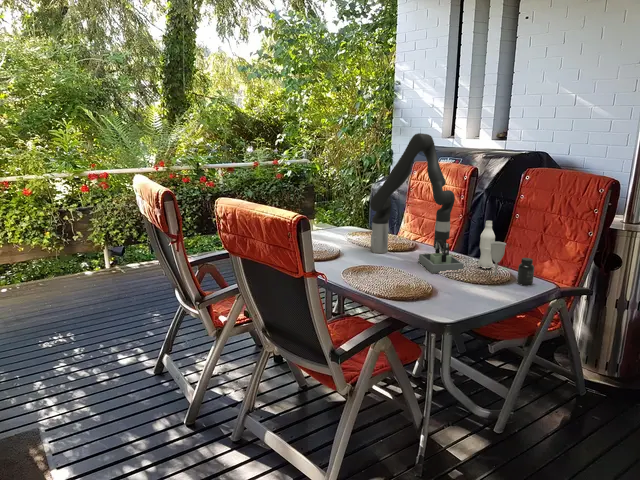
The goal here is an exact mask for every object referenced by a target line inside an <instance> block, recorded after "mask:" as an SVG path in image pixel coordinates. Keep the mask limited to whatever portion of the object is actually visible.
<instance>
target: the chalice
mask: <svg viewBox="0 0 640 480" xmlns="http://www.w3.org/2000/svg"><path fill="white" fill-rule="evenodd" d="M490 244H491V252H490V253H491V256H492V262H494V263H495V264H494V268H493V270H494V271H493V272H494V273H492V274H491V275H494V276H495V275H496V276H497V274H498V267H499V265H498V263H500V262H501V260H502V259H503V257H504V256H505V250H506V246H507V243H506V242H502V241H495V242H490Z"/></svg>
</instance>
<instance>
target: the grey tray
mask: <svg viewBox="0 0 640 480" xmlns="http://www.w3.org/2000/svg"><path fill="white" fill-rule="evenodd" d="M430 254H435V253H419V254H418V263H419V264H420V263H421V264H420V265H421V266H423V267H424V266H425V267H426V268H425V267H424V268H425V269H427V271H429V272H430V273H431V274H433V275H434V274H436V273H437V274H439V273H438V272H440V271H446V270H458V269H463V270H464V263H463V261H460V260H459V259H458V258H457V257H455V256H453V255H452V254H450V253H449V255H451V264H433V263H432V262H431V261H430Z"/></svg>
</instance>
